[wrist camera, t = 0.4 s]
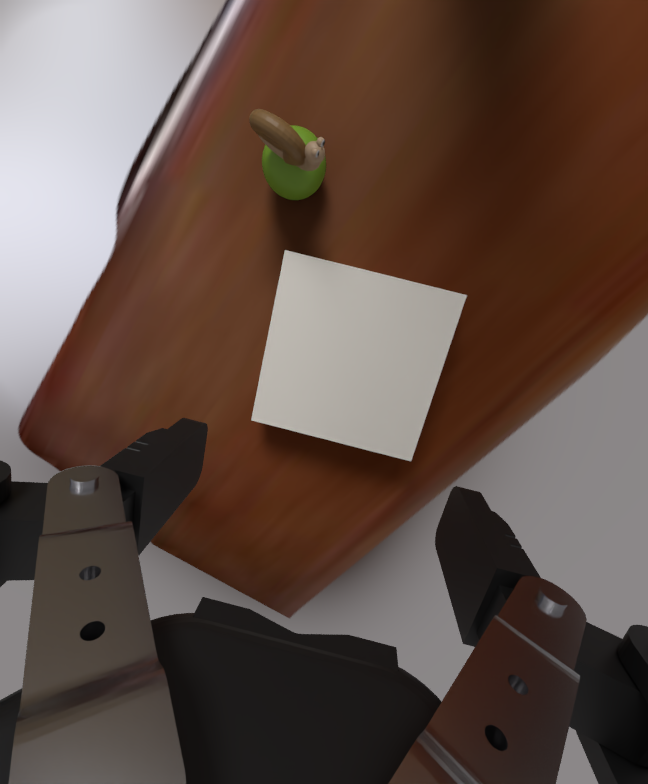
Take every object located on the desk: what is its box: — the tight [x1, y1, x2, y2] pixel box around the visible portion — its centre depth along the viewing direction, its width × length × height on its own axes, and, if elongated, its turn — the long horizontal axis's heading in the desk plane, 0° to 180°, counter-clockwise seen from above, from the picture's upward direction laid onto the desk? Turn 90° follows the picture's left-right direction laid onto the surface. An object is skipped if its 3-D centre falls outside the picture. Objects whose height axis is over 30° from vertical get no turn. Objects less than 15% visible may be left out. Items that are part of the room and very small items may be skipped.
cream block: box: [251, 250, 467, 461], centre depth 37 cm, size 16×16×5 cm
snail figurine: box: [249, 109, 326, 200], centre depth 29 cm, size 5×6×12 cm
